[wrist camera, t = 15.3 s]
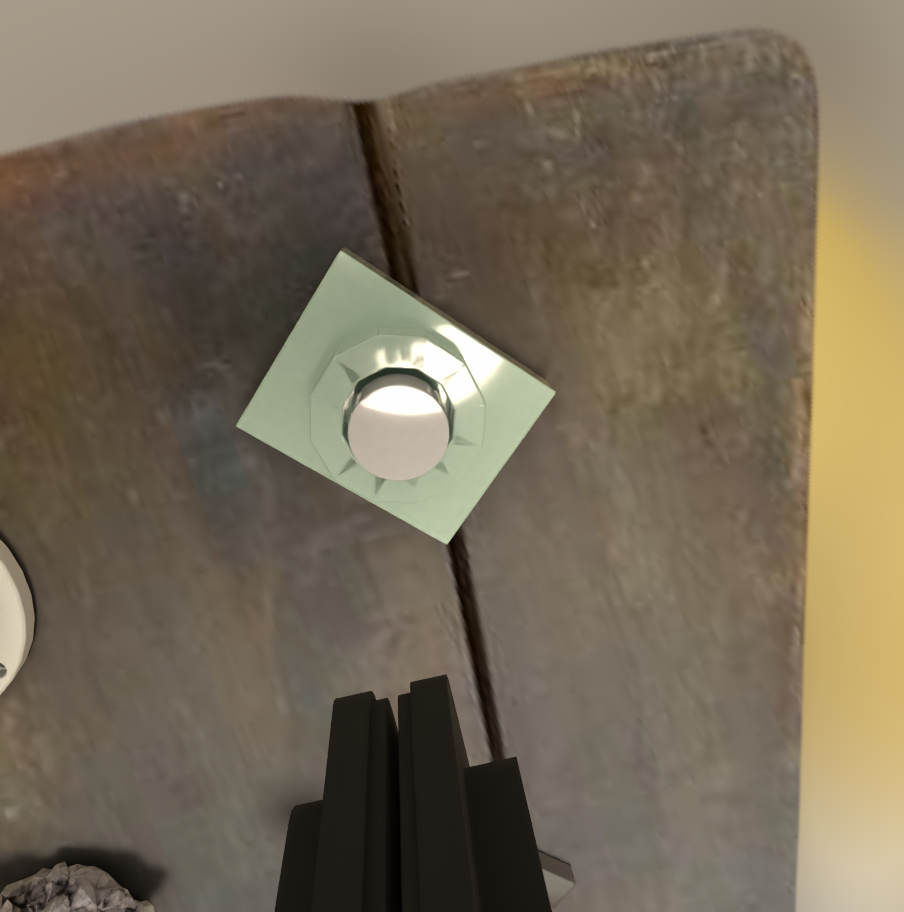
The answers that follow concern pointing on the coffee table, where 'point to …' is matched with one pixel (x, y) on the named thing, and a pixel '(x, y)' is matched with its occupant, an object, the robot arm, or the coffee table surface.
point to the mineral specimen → (70, 892)
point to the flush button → (398, 427)
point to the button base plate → (394, 352)
